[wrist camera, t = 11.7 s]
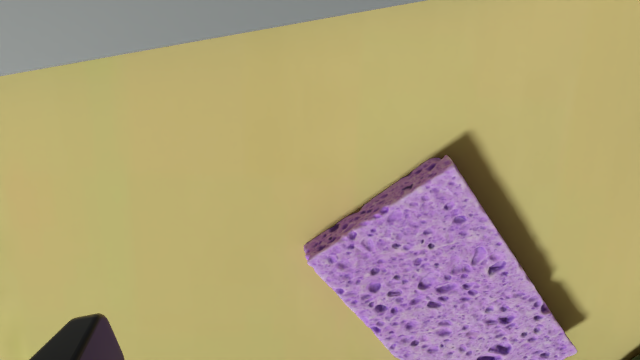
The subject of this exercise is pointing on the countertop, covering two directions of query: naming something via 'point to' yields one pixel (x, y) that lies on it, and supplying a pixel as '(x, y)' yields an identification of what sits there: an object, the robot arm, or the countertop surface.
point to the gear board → (142, 25)
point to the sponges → (436, 275)
